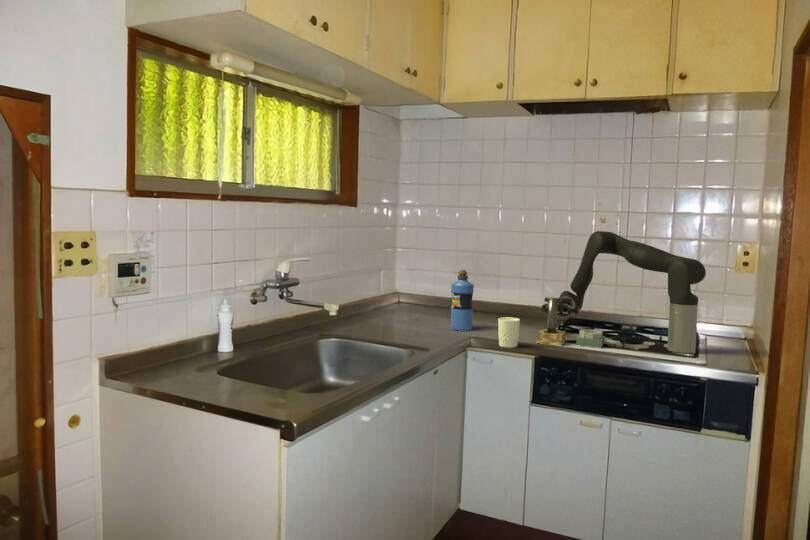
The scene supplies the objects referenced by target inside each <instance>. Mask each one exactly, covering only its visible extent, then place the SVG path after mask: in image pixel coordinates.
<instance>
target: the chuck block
mask: <svg viewBox="0 0 810 540" xmlns="http://www.w3.org/2000/svg"><path fill="white" fill-rule="evenodd" d="M575 342H576V343H575V345H580V346H579V347H584V346H592V347H591V348H594V347H602V346H603V347H604V345H605V344H613V345H621V340H612V339H605V335H603V331H601V330H596V329H580V330H579V334H578V335H577V336H576V341H575ZM603 344H604V345H603ZM603 347H602V348H603Z"/></svg>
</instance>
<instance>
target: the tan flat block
mask: <svg viewBox="0 0 810 540" xmlns="http://www.w3.org/2000/svg"><path fill="white" fill-rule="evenodd" d="M566 333H567V331H566V330H557V329H556V334H553V333H547V328H546V329H545V328H542V329H540V330H539V331H538V332H537V333H536V344H537V343H540V344H539V345H547V344H548V346H562V345H563V344H564V343H565V342H566Z"/></svg>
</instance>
